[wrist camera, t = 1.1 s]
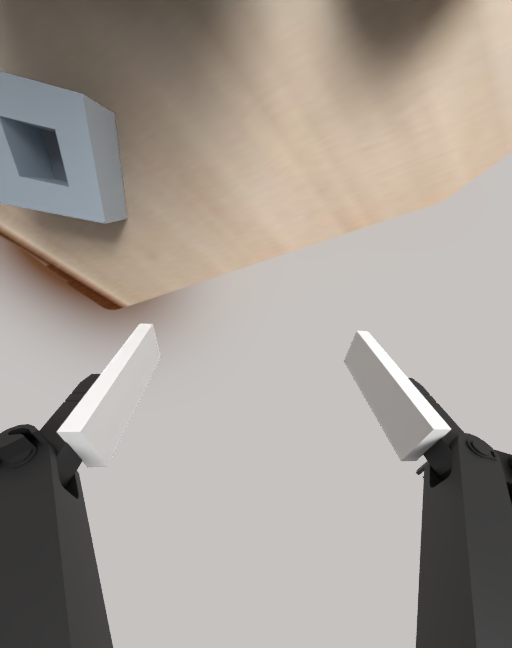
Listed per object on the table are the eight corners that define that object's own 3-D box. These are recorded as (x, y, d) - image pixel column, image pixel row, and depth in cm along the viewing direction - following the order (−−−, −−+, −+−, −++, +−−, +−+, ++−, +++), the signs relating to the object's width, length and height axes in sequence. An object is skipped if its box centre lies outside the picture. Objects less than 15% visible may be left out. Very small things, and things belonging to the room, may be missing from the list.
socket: (40, 201, 30) (-1, 203, 25) (3, 83, 24) (-63, 53, 19) (127, 218, 32) (105, 223, 27) (114, 113, 25) (82, 93, 20)
